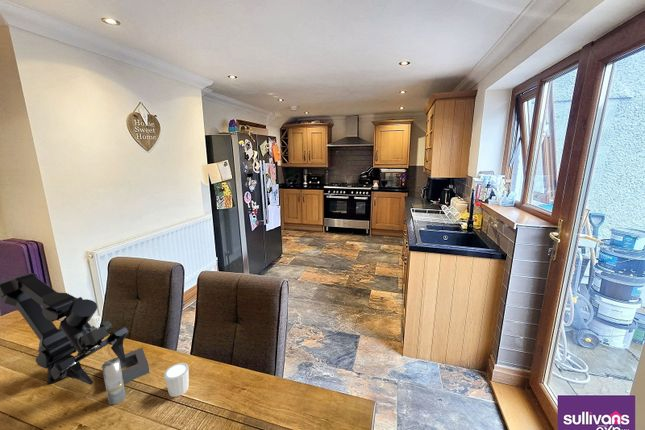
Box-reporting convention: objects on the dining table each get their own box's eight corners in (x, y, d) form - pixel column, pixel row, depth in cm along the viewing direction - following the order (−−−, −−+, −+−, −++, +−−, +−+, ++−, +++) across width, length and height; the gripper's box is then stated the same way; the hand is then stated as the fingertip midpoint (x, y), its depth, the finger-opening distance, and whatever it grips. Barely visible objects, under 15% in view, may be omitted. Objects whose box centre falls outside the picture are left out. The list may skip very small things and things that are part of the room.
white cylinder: (180, 400, 82) (178, 380, 81) (161, 396, 84) (158, 377, 82) (195, 382, 89) (193, 364, 87) (177, 379, 90) (174, 361, 89)
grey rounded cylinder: (107, 398, 83) (101, 363, 80) (124, 390, 86) (118, 356, 83) (109, 407, 80) (102, 371, 77) (126, 399, 83) (120, 363, 80)
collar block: (106, 370, 94) (104, 362, 93) (143, 355, 101) (142, 347, 100) (109, 390, 86) (107, 381, 85) (149, 372, 93) (148, 363, 92)
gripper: (47, 338, 72) (81, 385, 70) (120, 303, 89) (149, 340, 87) (37, 356, 76) (68, 401, 74) (108, 320, 93) (135, 356, 91)
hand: (109, 372), depth 82 cm, fingers open, 9 cm apart
